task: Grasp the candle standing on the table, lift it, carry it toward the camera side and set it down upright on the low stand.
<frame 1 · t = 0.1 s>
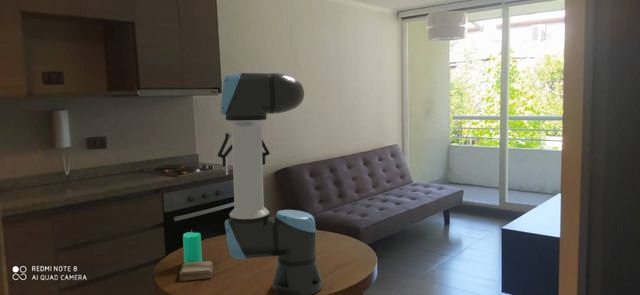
hand: (244, 173, 183), 28 cm above the table, fingers open, 13 cm apart
candle: (193, 263, 162), on the table
stand: (197, 273, 152), on the table
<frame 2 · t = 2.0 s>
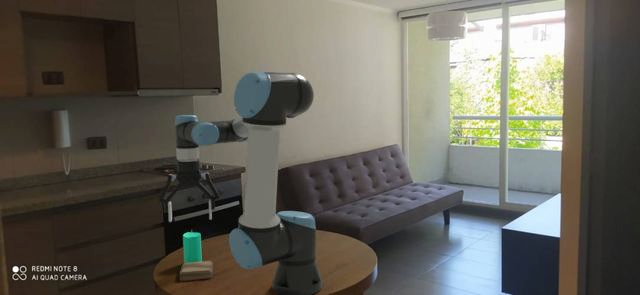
hand: (190, 219, 161), 16 cm above the table, fingers open, 13 cm apart
nothing on the table moved.
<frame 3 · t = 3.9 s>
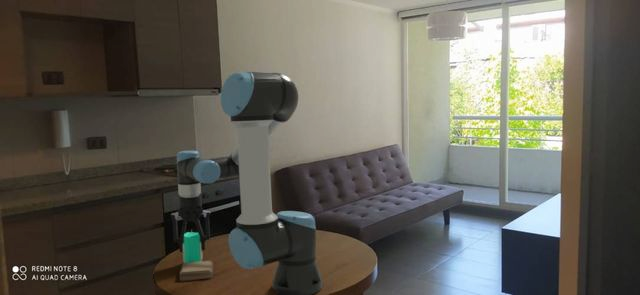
hand: (192, 259, 162), 1 cm above the table, fingers closed on candle, 5 cm apart
candle: (193, 263, 162), on the table, touching gripper
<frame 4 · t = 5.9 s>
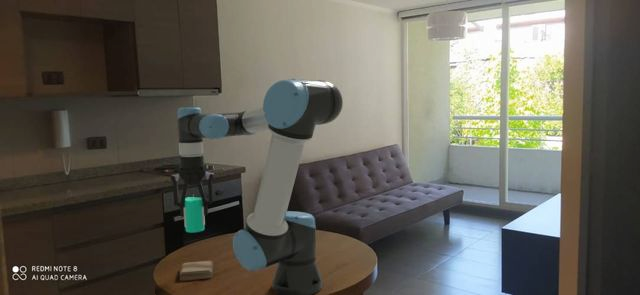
hand: (194, 225, 151), 16 cm above the table, fingers closed on candle, 5 cm apart
candle: (195, 230, 151), point 15 cm above the table, touching gripper
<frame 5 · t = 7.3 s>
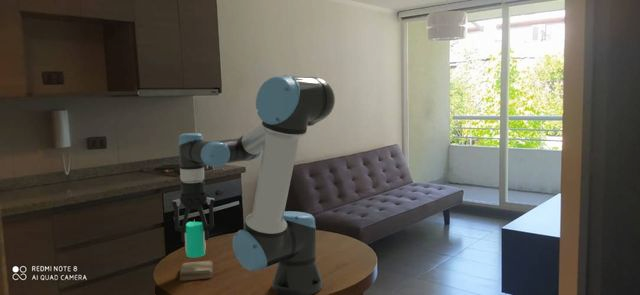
hand: (195, 250, 152), 8 cm above the table, fingers closed on candle, 5 cm apart
candle: (195, 255, 152), point 6 cm above the table, touching gripper
when the fingers open (5 cm above the table, at t = 8.2 s): candle drops 1 cm, resting on stand.
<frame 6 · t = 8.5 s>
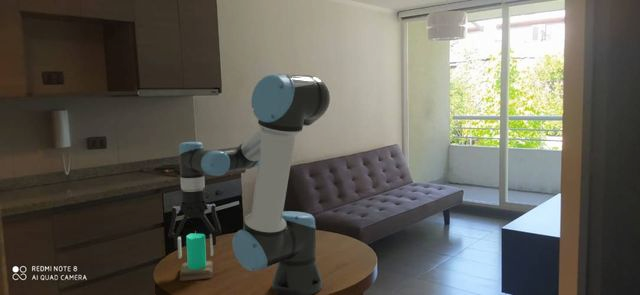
hand: (196, 255, 152), 6 cm above the table, fingers open, 9 cm apart
candle: (197, 266, 152), point 2 cm above the table, touching stand
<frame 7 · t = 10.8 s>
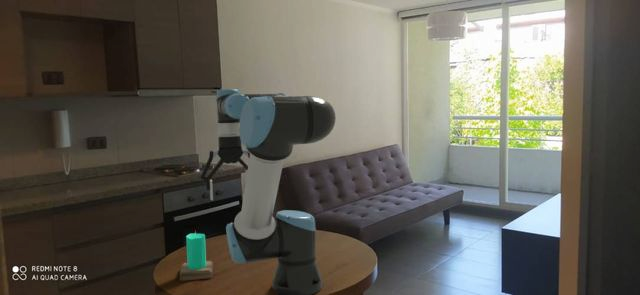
hand: (232, 198, 155), 24 cm above the table, fingers open, 13 cm apart
nothing on the table moved.
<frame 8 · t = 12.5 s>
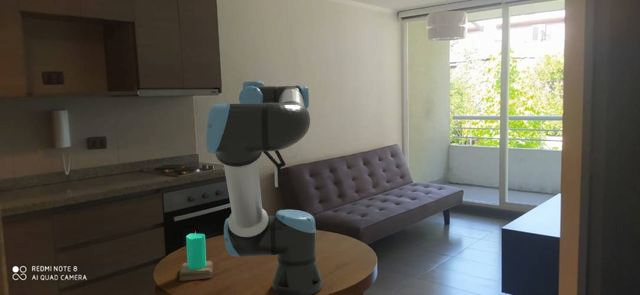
hand: (256, 187, 160), 27 cm above the table, fingers open, 13 cm apart
nothing on the table moved.
at the end: candle 0.1 cm from the stand (horizontally); candle point 2.3 cm above the table; candle tilted 0° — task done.
